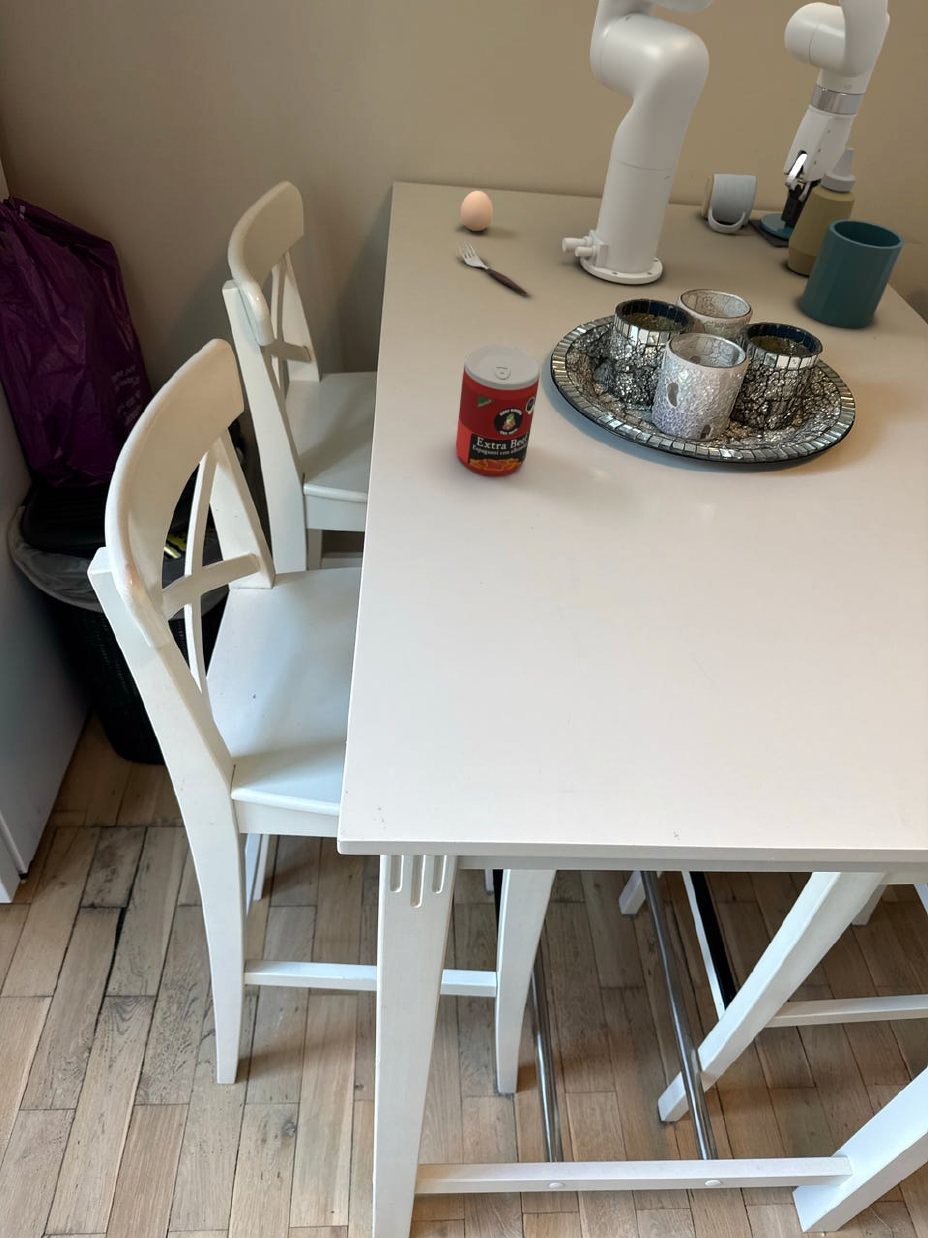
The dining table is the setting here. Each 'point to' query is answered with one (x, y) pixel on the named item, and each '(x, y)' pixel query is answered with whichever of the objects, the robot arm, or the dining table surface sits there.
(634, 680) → the dining table surface
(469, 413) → the canned food
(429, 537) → the dining table surface
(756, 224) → the mat
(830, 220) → the squeeze bottle
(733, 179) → the ceramic mug
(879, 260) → the tin
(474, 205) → the egg
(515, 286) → the fork
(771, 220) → the tin lid
